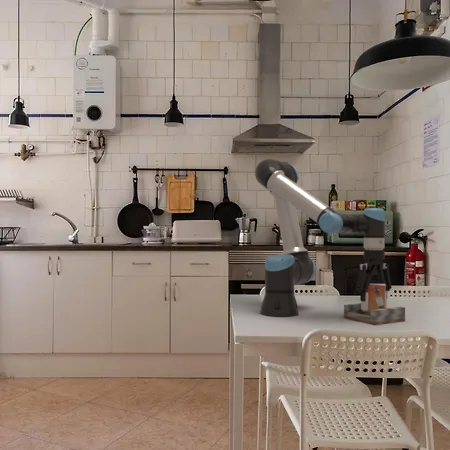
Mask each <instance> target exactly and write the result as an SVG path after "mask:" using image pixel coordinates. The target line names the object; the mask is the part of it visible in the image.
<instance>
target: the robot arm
mask: <svg viewBox="0 0 450 450" xmlns="http://www.w3.org/2000/svg"><path fill="white" fill-rule="evenodd" d="M254 176H255V177H254V178H255V179H256V181H257V183H258V184H260V185H261V186H262V187H263V188H265V189H266V190H268V191H269V194H270V196H272V197H273V199H274V203H275V209H276V215H277V219H278V225H279V231H280V237H281V242H282V248H283V251H282V252H281V253H280V254H271V255H269V256H267V257H266V258H265V263H264V292H265V293H264V296H263V299H262V303H261V306H260V314H261V315H264V316H269V317H270V316H271V317H294V316H298V315H299V311H300V308H299V307H298V302H297V299H296V296H295V286H297V285H304V284H306V283H309V282H310V281H312V279H314V277H315V275H316V269H317V267H316V264H315V261H314V260H313V259H312V258H311V257H310V255H309V250H308V249H306V248H305V247H304V242H303V235H302V230H301V227H300V221H299V216H298V210H299V211H301V212H302V213H303V214H305V215H306V216H307V217H309V218H310V219H311V220H313V221H314V222H316V224H318V226H319V227H320V229H321V230H322V231H323V232H324V233H327V234H333V235H334V234H345V235H346V234H363V248H364V249H363V259H364V261H365V262H364V263H363V264H362V263H359V265H358V275H357V280H356V287H355V291H358V293H360V299H359V300H360V303H361V310H366V311H368V293H366V292H367V289H368V286H369V283H371V280H372V278H373V277H374V276H375V277H376V279H377V282H378V284H385V285H386V286H385V308H388V306H387V303H388V302H387V300H388V292H390V290H391V289H392V282H391V275H390V264H389V263H385V262H384V261H383V260H385V257H386V256H385V255H386V254H385V250H384V249H385V238H386V237H385V236H386V235H385V233H386V231H385V230H386V229H385V227H386V226H385V225H386V219H385V218H386V217H385V209H384V208H379V207H378V208H377V207H375V208H374V207H373V208H372V207H371V208H370V207H369V208H364V210H363V213H340V212H337V211H336V210H334V209H333V208H331V207H330V206H329V205H327V204H325V202H323V201H321V199H319V198H317V197H316V196H315V195H313V194H311V192H309V191H308V190H306V189H305V188H303V187H302V186H300V185H299V184H298V181H299V176H300V175H299V172H298V169H297V168H296V166H294V165H293V164H291V163H289V162H288V161H281V160H277V159H272V158H265V159H262V160H261V161H260V162H258V164H257V165H256V167H255V171H254ZM297 209H298V210H297ZM363 288H364V289H363Z"/></svg>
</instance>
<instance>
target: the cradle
mask: <svg viewBox="0 0 450 450" xmlns="http://www.w3.org/2000/svg"><path fill="white" fill-rule="evenodd" d="M343 318H344V319H347V320H350V321H351V320H352V321H354V322H355V321H356V322H359V323H363V324H368V325H372V326H379V325H388V324H394V323H399V322H406V307H405V306H395V307H387V308H385V309H376V310H371V312H363V310H361V302H359V303H350V304H344V305H343Z"/></svg>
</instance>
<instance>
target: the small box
mask: <svg viewBox="0 0 450 450" xmlns="http://www.w3.org/2000/svg"><path fill="white" fill-rule="evenodd" d="M385 286H386V285H385V284H379V283H371V282H370V283H369V286H368V289H367V292H366V293H368V311H366V310H363V312H371V310H376V309H385ZM363 289H364V288H363Z"/></svg>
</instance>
